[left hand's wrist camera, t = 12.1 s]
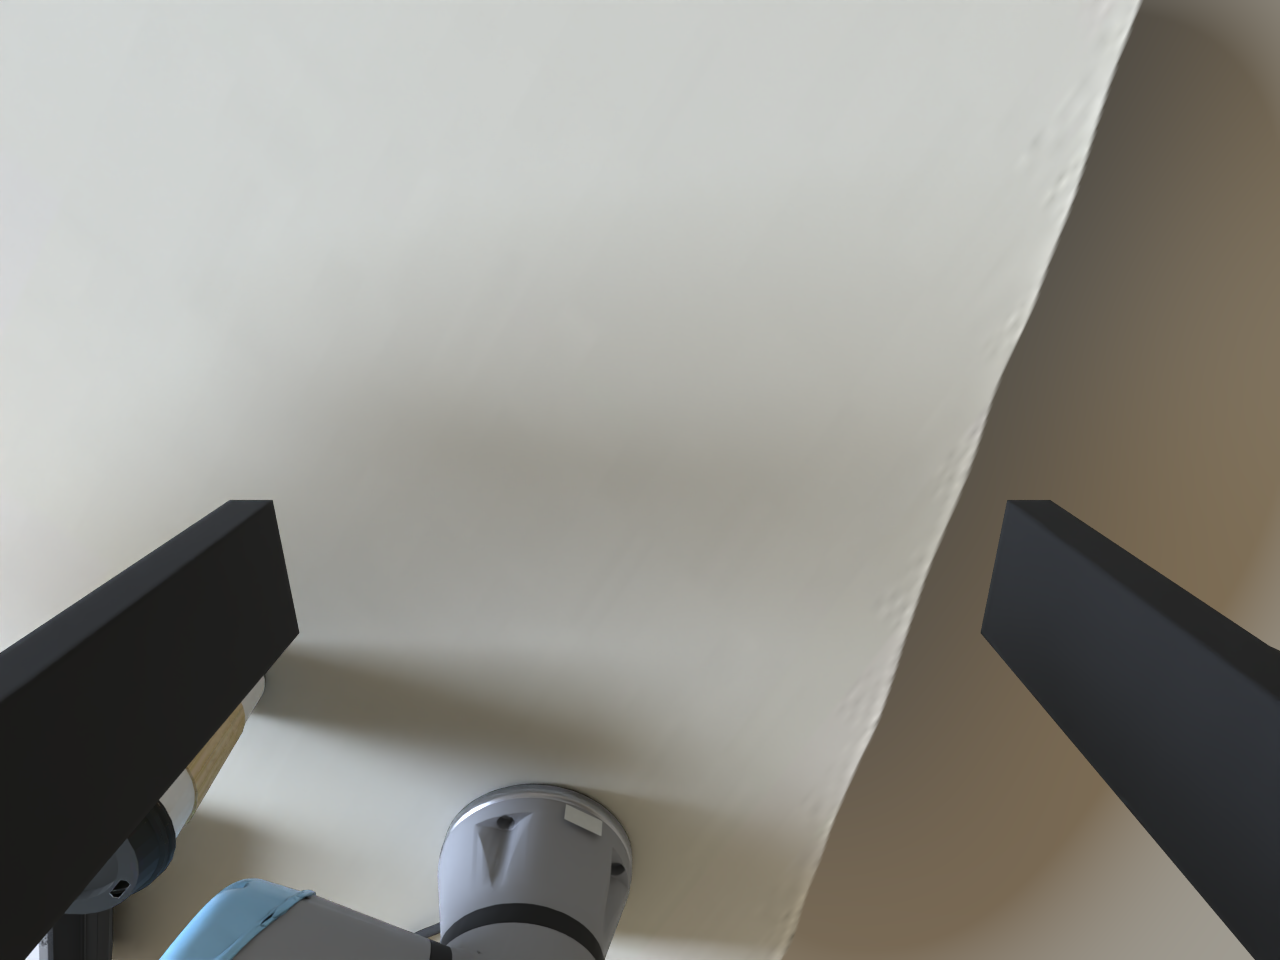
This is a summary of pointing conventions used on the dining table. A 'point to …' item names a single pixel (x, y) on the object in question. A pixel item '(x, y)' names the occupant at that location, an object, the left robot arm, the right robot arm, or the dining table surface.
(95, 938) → the electronic device
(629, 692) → the dining table surface
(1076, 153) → the dining table surface
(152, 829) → the coffee cup
